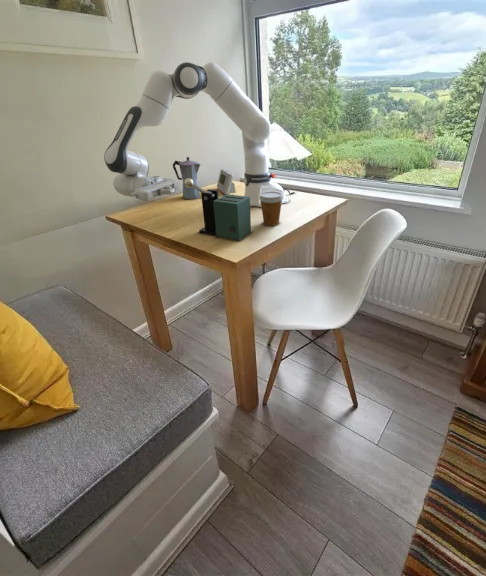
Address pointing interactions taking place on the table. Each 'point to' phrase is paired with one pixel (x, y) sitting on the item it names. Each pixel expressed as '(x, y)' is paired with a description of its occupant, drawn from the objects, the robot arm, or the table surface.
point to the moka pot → (188, 171)
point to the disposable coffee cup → (271, 207)
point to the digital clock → (226, 182)
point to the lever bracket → (209, 212)
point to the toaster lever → (195, 186)
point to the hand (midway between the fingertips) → (173, 191)
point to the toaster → (232, 217)
